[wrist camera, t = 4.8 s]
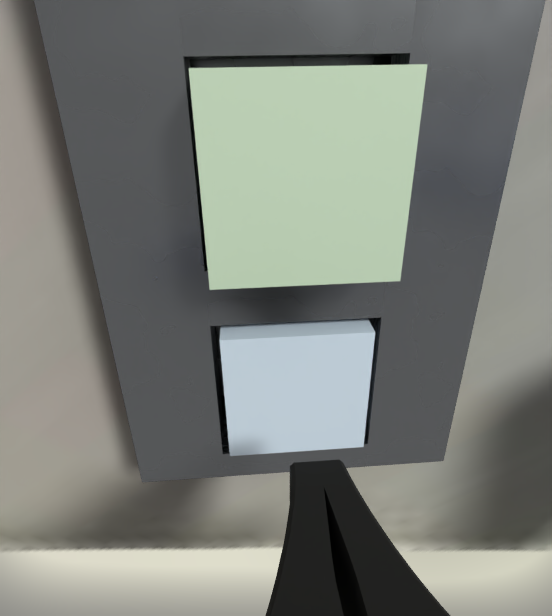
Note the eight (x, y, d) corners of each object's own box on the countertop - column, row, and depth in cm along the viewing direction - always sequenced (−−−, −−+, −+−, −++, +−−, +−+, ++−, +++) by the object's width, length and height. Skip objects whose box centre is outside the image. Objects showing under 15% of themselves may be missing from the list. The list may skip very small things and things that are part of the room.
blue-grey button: (353, 292, 17) (375, 332, 14) (346, 395, 19) (363, 447, 16) (222, 298, 16) (219, 340, 14) (231, 402, 19) (229, 456, 16)
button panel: (553, -395, 10) (673, -576, 7) (416, 411, 20) (443, 460, 18) (-6, -421, 9) (-108, -632, 6) (155, 427, 20) (142, 482, 17)
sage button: (385, 68, 12) (427, 63, 9) (370, 243, 14) (400, 281, 12) (200, 71, 12) (188, 68, 9) (215, 249, 14) (209, 289, 11)
